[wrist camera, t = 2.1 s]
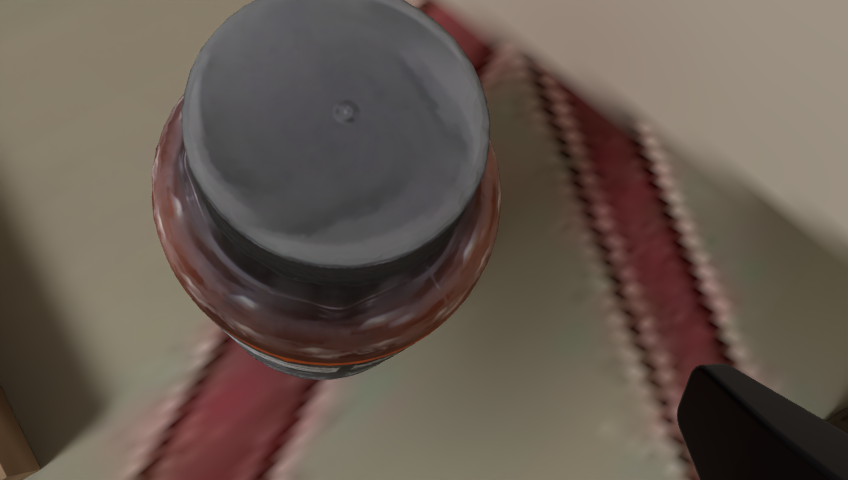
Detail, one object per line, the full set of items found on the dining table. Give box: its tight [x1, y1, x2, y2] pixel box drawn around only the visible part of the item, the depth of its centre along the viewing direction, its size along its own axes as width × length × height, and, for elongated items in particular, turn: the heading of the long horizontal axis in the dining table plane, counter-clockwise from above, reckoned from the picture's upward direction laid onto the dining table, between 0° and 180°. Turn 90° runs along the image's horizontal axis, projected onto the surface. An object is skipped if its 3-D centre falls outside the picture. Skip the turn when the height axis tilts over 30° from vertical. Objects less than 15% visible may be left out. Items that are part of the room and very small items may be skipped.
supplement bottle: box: [152, 0, 501, 380], centre depth 14 cm, size 6×6×11 cm
